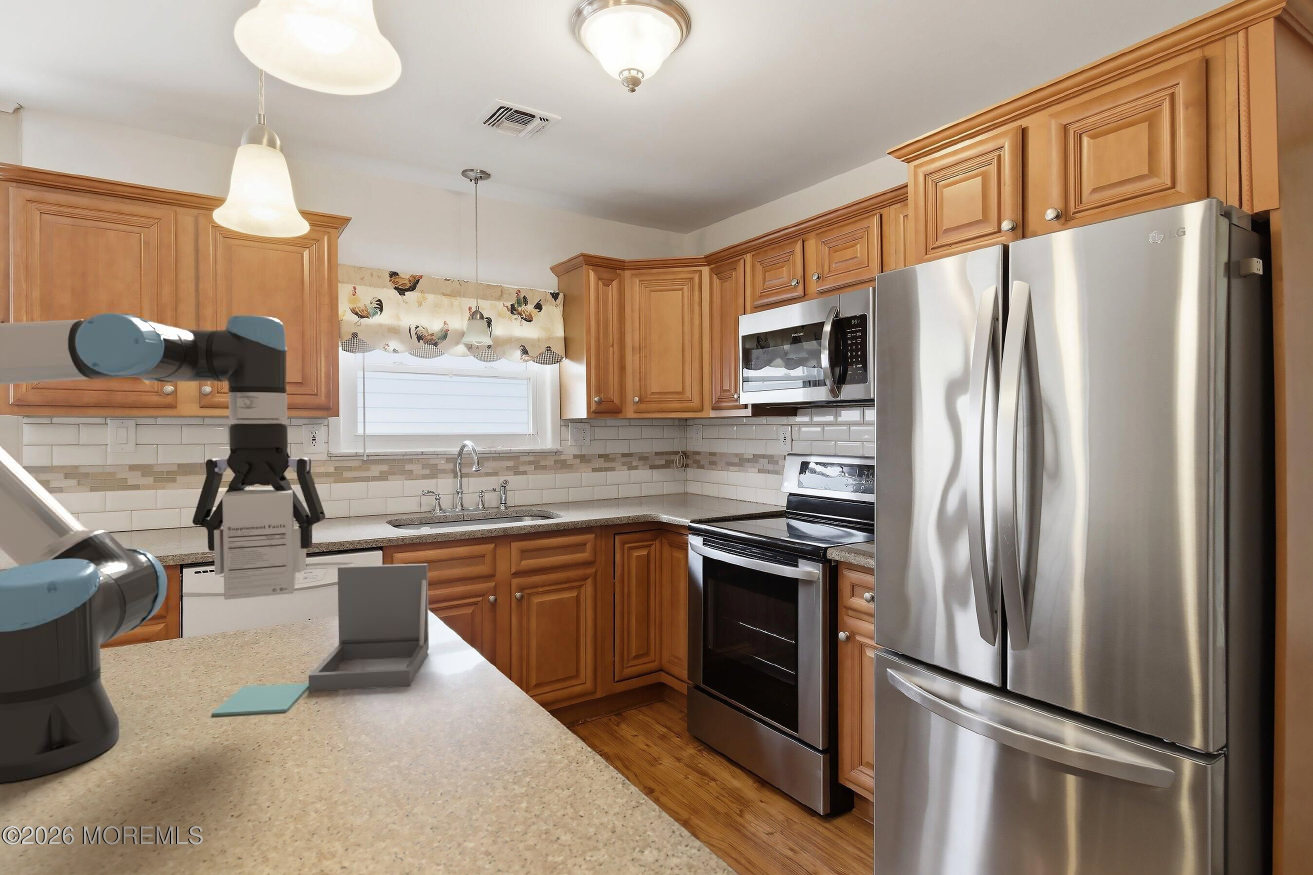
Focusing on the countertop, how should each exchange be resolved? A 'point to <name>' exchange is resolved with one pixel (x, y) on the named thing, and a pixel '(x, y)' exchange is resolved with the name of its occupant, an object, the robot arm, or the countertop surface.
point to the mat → (262, 699)
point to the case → (378, 626)
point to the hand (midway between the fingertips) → (261, 571)
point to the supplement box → (258, 543)
